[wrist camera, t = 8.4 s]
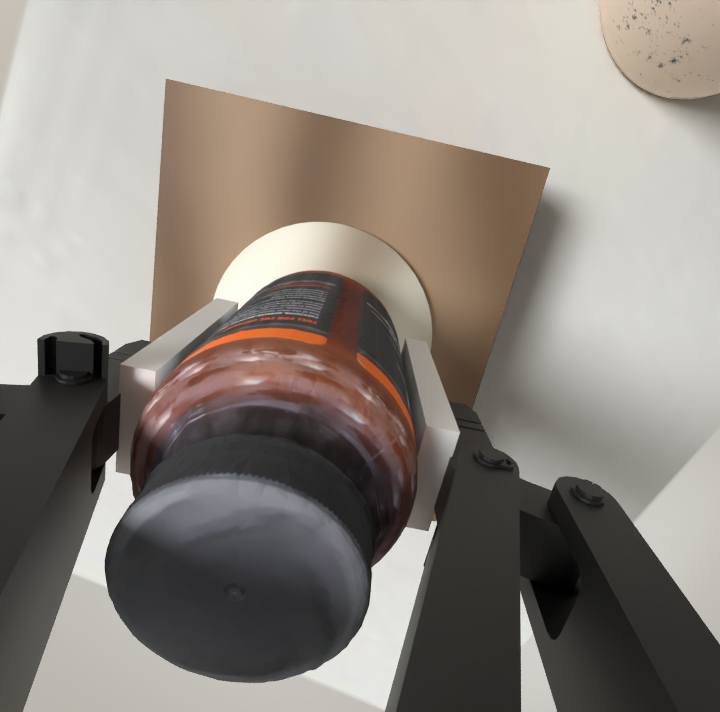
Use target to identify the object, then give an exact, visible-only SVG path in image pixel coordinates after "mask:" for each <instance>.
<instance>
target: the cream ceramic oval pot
mask: <svg viewBox="0 0 720 712" xmlns="http://www.w3.org/2000/svg"><path fill="white" fill-rule="evenodd" d="M599 8H600V20H601V26H602V31H603V35H604V39H605V42H606V44H607V47H608V49H609V52H610V54H611V56H612V58H613V59H614V61H615V62H616V64H617V66H618V67H619V68H620V69H621V71H622V72H623V73H624V74H625V75H626V76H627V77H628V78H629V79H630V80H631V81H632V82H634V83H635V84H636V85H638V86H639V87H641V88H643V89H644V90H646V91H648V92H650V93H653V94H655V95H658V96H662V97H666V98H671V99H696V98H703V97H707V96H711V95H715V94H718V93H720V0H599Z"/></svg>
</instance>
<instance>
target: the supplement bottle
mask: <svg viewBox="0 0 720 712" xmlns="http://www.w3.org/2000/svg"><path fill="white" fill-rule="evenodd" d="M417 471H418V459H417V450H416V443H415V436H414V425H413V422H412V417H411V410H410V404H409V399H408V390H407V386H406V380H405V375H404V369H403V363H402V358H401V352H400V346H399V341H398V336H397V333H396V330H395V327H394V324H393V322H392V319H391V317H390V316H389V314H388V312H387V310H386V308H385V306H384V305H383V304H382V303H381V301H380V300H379V299H378V298H377V297H376V296H375V295H374V294H373V293H372V292H371V291H369V290H368V289H367V288H366V287H364V286H363V285H361V284H360V283H358V282H357V281H355V280H353V279H351V278H349V277H346V276H344V275H342V274H338V273H334V272H330V271H321V270H317V271H315V270H310V271H301V272H296V273H292V274H289V275H286V276H283V277H281V278H279V279H276V280H274V281H273V282H271V283H270V284H268V285H266V286H265V287H263V288H262V289H261V290H259V291H258V292H257V293H256V294H255V295H254V296H253V297H252V298H251V299H250V300H248V301H247V302H246V303H245V304H244V305H243V306H242V307H241V308H240V309H239V310H238V311H237V312H236V313H234V314H233V315H232V316H231V317H230V318H229V319H228V320H227V321H226V322H225V323H224V324H222V325H221V326H220V327H219V328H218V329H217V330H216V331H215V332H214V333H213V334H212V335H211V336H210V337H209V338H207V339H206V340H204V342H203V343H202V344H201V345H200V346H199V347H198V348H196V349H195V350H193V351H192V352H191V353H190V354H189V355H188V357H187V358H186V359H184V360H183V361H182V362H181V363H180V364H179V366H178V367H177V368H176V369H175V370H174V371H173V372H172V373H171V374H170V375H169V376H168V377H167V378H166V379H165V380H164V381H163V382H162V383H161V385H160V386H159V387H158V388H157V390H156V391H155V392H154V394H153V395H152V397H151V399H150V400H149V402H148V403H147V405H146V406H145V408H144V410H143V411H142V414H141V416H140V418H139V421H138V424H137V426H136V429H135V431H134V435H133V440H132V443H131V450H130V477H131V480H132V490H133V496H134V498H135V500H134V502H133V503H132V504H131V505H130V506H129V508H128V509H127V511H126V512H125V514H124V515H123V517H122V518H121V520H120V521H119V523H118V524H117V526H116V528H115V530H114V532H113V534H112V536H111V538H110V542H109V545H108V548H107V552H106V557H105V575H106V582H107V587H108V593H109V596H110V598H111V600H112V601H113V604H114V607H115V609H116V611H117V613H118V614H119V616H120V618H121V619H122V621H123V622H124V623H125V625H126V626H127V627H128V629H129V630H130V631H131V633H132V634H133V635H134V636H135V637H136V638H137V639H138V640H139V641H140V642H141V643H142V644H144V645H145V646H146V647H148V648H149V649H150V650H152V651H153V652H154V653H156V654H157V655H159V656H161V657H162V658H164V659H165V660H167V661H169V662H170V663H172V664H174V665H176V666H178V667H180V668H182V669H185V670H187V671H190V672H193V673H197V674H200V675H203V676H207V677H210V678H214V679H217V680H222V681H230V682H245V683H246V682H247V683H263V682H268V681H278V680H283V679H286V678H288V677H292V676H295V675H299V674H302V673H305V672H306V671H309V670H314V669H317V668H318V667H320V666H321V665H322V664H323V663H325V662H327V661H329V660H330V659H332V658H334V657H335V656H336V655H338V654H339V653H340V652H341V651H342V650H343V649H345V648H346V647H347V646H348V644H349V642H350V641H351V639H352V638H353V637H354V636H355V635H356V633H357V632H358V631H359V629H360V628H361V626H362V623H363V620H364V617H365V615H366V613H367V610H368V607H369V601H370V592H371V578H372V572H371V568H372V567H373V566H374V565H375V564H376V563H377V562H379V561H380V560H381V559H382V558H383V557H384V556H385V555H386V554H387V552H388V551H389V550H390V549H391V548H392V546H393V545H394V544H395V542H396V541H397V540H398V538H399V537H400V535H401V533H402V532H403V530H404V528H405V527H406V526H407V522H408V520H409V517H410V515H411V512H412V508H413V504H414V500H415V497H416V492H417Z"/></svg>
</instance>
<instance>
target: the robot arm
mask: <svg viewBox="0 0 720 712" xmlns="http://www.w3.org/2000/svg"><path fill="white" fill-rule="evenodd" d="M238 303H239V302H234V301H229V300H224V299H220V298H216V299H215V300H213V301H212V302H210V303H209V304H207V305H206V306H204V307H203V308H201V309H200V310H198V311H197V312H196V313H194V314H193V315H191V316H190V317H188V318H187V319H185V320H184V321H182V322H181V323H179V324H178V325H177V326H175V327H174V328H172V329H171V330H169V331H168V332H166V333H165V334H163V335H162V336H161V337H159V338H158V339H156V340H155V341H153V342H149V341H144V340H140V341H136V342H132V343H128V344H125V345H124V346H122V347H120V348H119V349H117V350H115V352H112V353H111V354H109V341H108V340H107V339H105V338H104V337H102V336H99V335H96V334H92V333H86V332H72V331H67V332H55V333H51V334H47V335H44V336H42V337H40V338H38V339H37V344H38V376H37V377H36V379H35V380H34V381H33V382H32V383H31V385H7V384H0V712H23V709H24V706H25V703H26V701H27V698H28V695H29V692H30V689H31V686H32V683H33V681H34V678H35V675H36V672H37V669H38V667H39V664H40V661H41V658H42V655H43V653H44V650H45V647H46V644H47V641H48V639H49V636H50V633H51V630H52V627H53V625H54V622H55V619H56V616H57V613H58V610H59V607H60V605H61V602H62V599H63V596H64V593H65V590H66V588H67V585H68V582H69V579H70V576H71V574H72V571H73V568H74V565H75V562H76V560H77V557H78V554H79V551H80V548H81V546H82V543H83V540H84V537H85V534H86V531H87V529H88V526H89V523H90V520H91V517H92V514H93V512H94V509H95V506H96V503H97V500H98V498H99V495H100V492H101V489H102V486H103V483H104V481H105V462H106V461H107V460H108V459H109V458H110V457H111V456H112V455H113V454H114V453H115V452H116V451H117V454H116V472H119V473H124V474H130V450H131V443H132V440H133V435H134V431H135V429H136V426H137V424H138V421H139V418H140V416H141V414H142V411H143V410H144V408H145V406H146V405H147V403H148V402H149V400H150V399H151V397H152V395H153V394H154V392H155V391H156V390H157V388H158V387H159V386H160V385H161V383H162V382H163V381H164V380H165V379H166V378H167V377H168V376H169V375H170V374H171V373H172V372H173V371H174V370H175V369H176V368H177V367H178V366H179V364H180V363H181V362H182V361H183V360H184V359H186V358H187V357H188V355H189V354H190V353H191V352H192V351H193V350H195V349H196V348H198V347H199V346H200V345H201V344H202V343H203V342H204V340H206V339H207V338H209V337H210V336H211V335H212V334H213V333H214V332H215V331H216V330H217V329H218V328H219V327H220V326H221V325H222V324H224V323H225V322H226V321H227V320H228V319H229V318H230V317H231V316H232V315H233V314H234V313H236V312H237V311H238ZM401 358H402V363H403V369H404V375H405V380H406V386H407V390H408V399H409V404H410V410H411V417H412V422H413V425H414V436H415V443H416V450H417V459H418V471H417V492H416V497H415V500H414V504H413V508H412V512H411V515H410V517H409V520H408V522H407V526H406V527H410V528H415V529H420V530H425V531H429V527H430V524H431V521H432V518H433V515H434V512H435V516H436V521H437V526H436V529H435V532H434V535H433V538H432V541H431V544H430V547H429V550H428V553H427V556H426V560H425V563H424V571H423V574H422V578H421V582H420V585H419V589H418V593H417V596H416V600H415V604H414V607H413V611H412V615H411V618H410V622H409V626H408V629H407V633H406V637H405V640H404V644H403V648H402V651H401V655H400V659H399V662H398V666H397V670H396V673H395V677H394V681H393V684H392V688H391V692H390V695H389V699H388V703H387V706H386V710H385V712H521V646H520V591H521V594H522V598H523V601H524V604H525V607H526V611H527V614H528V617H529V620H530V624H531V627H532V630H533V634H534V637H535V640H536V643H537V646H538V649H539V653H540V656H541V659H542V663H543V666H544V669H545V673H546V676H547V679H548V682H549V685H550V689H551V692H552V696H553V699H554V702H555V705H556V709H557V712H720V644H719V643H718V641H717V640H716V639H715V637H714V636H713V635H712V633H711V632H710V630H709V629H708V627H707V626H706V625H705V623H704V622H703V621H702V619H701V618H700V616H699V615H698V614H697V612H696V611H695V609H694V608H693V607H692V605H691V604H690V602H689V601H688V600H687V598H686V597H685V595H684V594H683V593H682V591H681V590H680V589H679V587H678V586H677V584H676V583H675V581H674V580H673V579H672V577H671V576H670V575H669V573H668V572H667V570H666V569H665V568H664V566H663V565H662V563H661V562H660V561H659V559H658V558H657V556H656V555H655V554H654V552H653V551H652V549H651V548H650V547H649V545H648V544H647V543H646V541H645V540H644V538H643V537H642V535H641V534H640V533H639V531H638V530H637V528H636V527H635V526H634V524H633V523H632V522H631V520H630V519H629V517H628V516H627V515H626V513H625V512H624V510H623V509H622V508H621V506H620V505H619V503H618V502H617V501H616V500H615V499H614V498H613V497H612V496H611V495H610V494H609V493H607V492H606V491H605V490H603V489H602V488H601V487H600V486H598V485H597V484H595V483H594V484H592V482H590V481H588V480H582V479H579V478H575V477H567V476H565V477H560V478H558V480H557V481H556V482H555V485H554V487H553V489H552V491H551V490H548V489H545V488H543V487H540V486H537V485H535V484H532V483H530V482H527V481H525V480H523V479H521V478H519V468H518V465H517V463H516V462H515V461H514V460H513V459H512V458H511V457H509V456H508V455H506V454H505V453H503V452H502V451H499V450H497V449H495V448H493V447H492V445H491V443H490V440H489V438H488V436H487V434H486V432H484V431H485V430H484V428H483V426H482V425H481V422H480V420H479V418H478V415H477V414H476V413H475V412H474V411H473V410H472V409H471V408H469V407H468V406H467V405H465V404H460V403H455V402H450V401H448V399H447V396H446V393H445V391H444V388H443V385H442V383H441V380H440V377H439V375H438V372H437V369H436V367H435V364H434V361H433V359H432V356H431V353H430V350H429V348H428V345H427V342H424V341H420V340H415V339H410V338H405V341H404V345H403V349H402V353H401Z"/></svg>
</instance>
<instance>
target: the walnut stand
mask: <svg viewBox="0 0 720 712" xmlns="http://www.w3.org/2000/svg"><path fill="white" fill-rule="evenodd" d="M549 170H550V168H547V167H543V166H539V165H535V164H530V163H526V162H522V161H517V160H513V159H509V158H504V157H500V156H496V155H492V154H487V153H483V152H479V151H474V150H470V149H466V148H461V147H457V146H453V145H448V144H444V143H440V142H436V141H431V140H427V139H423V138H418V137H414V136H410V135H405V134H401V133H397V132H393V131H388V130H384V129H380V128H375V127H371V126H367V125H362V124H358V123H354V122H350V121H345V120H341V119H337V118H332V117H328V116H324V115H319V114H315V113H311V112H307V111H302V110H298V109H294V108H289V107H285V106H281V105H276V104H272V103H268V102H264V101H259V100H255V99H251V98H246V97H242V96H238V95H233V94H229V93H225V92H220V91H216V90H212V89H208V88H203V87H199V86H195V85H190V84H186V83H182V82H177V81H173V80H169V79H166V86H165V102H164V118H163V134H162V150H161V166H160V183H159V199H158V215H157V231H156V247H155V263H154V279H153V296H152V312H151V328H150V342H153V341H155V340H156V339H158V338H159V337H161V336H162V335H163V334H165V333H166V332H168V331H169V330H171V329H172V328H174V327H175V326H177V325H178V324H179V323H181V322H182V321H184V320H185V319H187V318H188V317H190V316H191V315H193V314H194V313H196V312H197V311H198V310H200V309H201V308H203V307H204V306H206V305H207V304H209V303H210V302H212V301H213V300H215V299H216V298H220V299H224V300H229V301H234V302H239V303H238V310H239V309H240V308H241V307H242V306H243V305H244V304H245V303H246V302H247V301H248V300H250V299H251V298H252V297H253V296H254V295H255V294H256V293H257V292H258V291H259V290H261V289H262V288H263V287H265V286H266V285H268V284H270V283H271V282H273V281H274V280H276V279H279V278H281V277H283V276H286V275H289V274H292V273H296V272H301V271H310V270H315V271H317V270H321V271H330V272H334V273H338V274H342V275H344V276H346V277H349V278H351V279H353V280H355V281H357V282H358V283H360V284H361V285H363V286H364V287H366V288H367V289H368V290H369V291H371V292H372V293H373V294H374V295H375V296H376V297H377V298H378V299H379V300H380V301H381V303H382V304H383V305H384V306H385V308H386V310H387V312H388V314H389V316H390V317H391V319H392V322H393V324H394V327H395V330H396V333H397V336H398V341H399V346H400V352H401V353H402V349H403V345H404V341H405V338H410V339H415V340H420V341H424V342H427V345H428V348H429V350H430V353H431V356H432V359H433V361H434V364H435V367H436V369H437V372H438V375H439V377H440V380H441V383H442V385H443V388H444V391H445V393H446V396H447V399H448V401H450V402H455V403H460V404H465V405H467V406H468V407H469V408H471V409H472V407H473V404H474V401H475V398H476V395H477V392H478V389H479V386H480V383H481V380H482V377H483V374H484V371H485V367H486V364H487V361H488V358H489V355H490V352H491V349H492V346H493V343H494V340H495V337H496V334H497V330H498V327H499V324H500V321H501V318H502V315H503V312H504V309H505V306H506V303H507V300H508V297H509V293H510V290H511V287H512V284H513V281H514V278H515V275H516V272H517V269H518V266H519V263H520V260H521V257H522V253H523V250H524V247H525V244H526V241H527V238H528V235H529V232H530V229H531V226H532V223H533V220H534V216H535V213H536V210H537V207H538V204H539V201H540V198H541V195H542V192H543V189H544V186H545V183H546V179H547V176H548V173H549ZM432 521H436V516H435V512H434V515H433V518H432Z"/></svg>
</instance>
